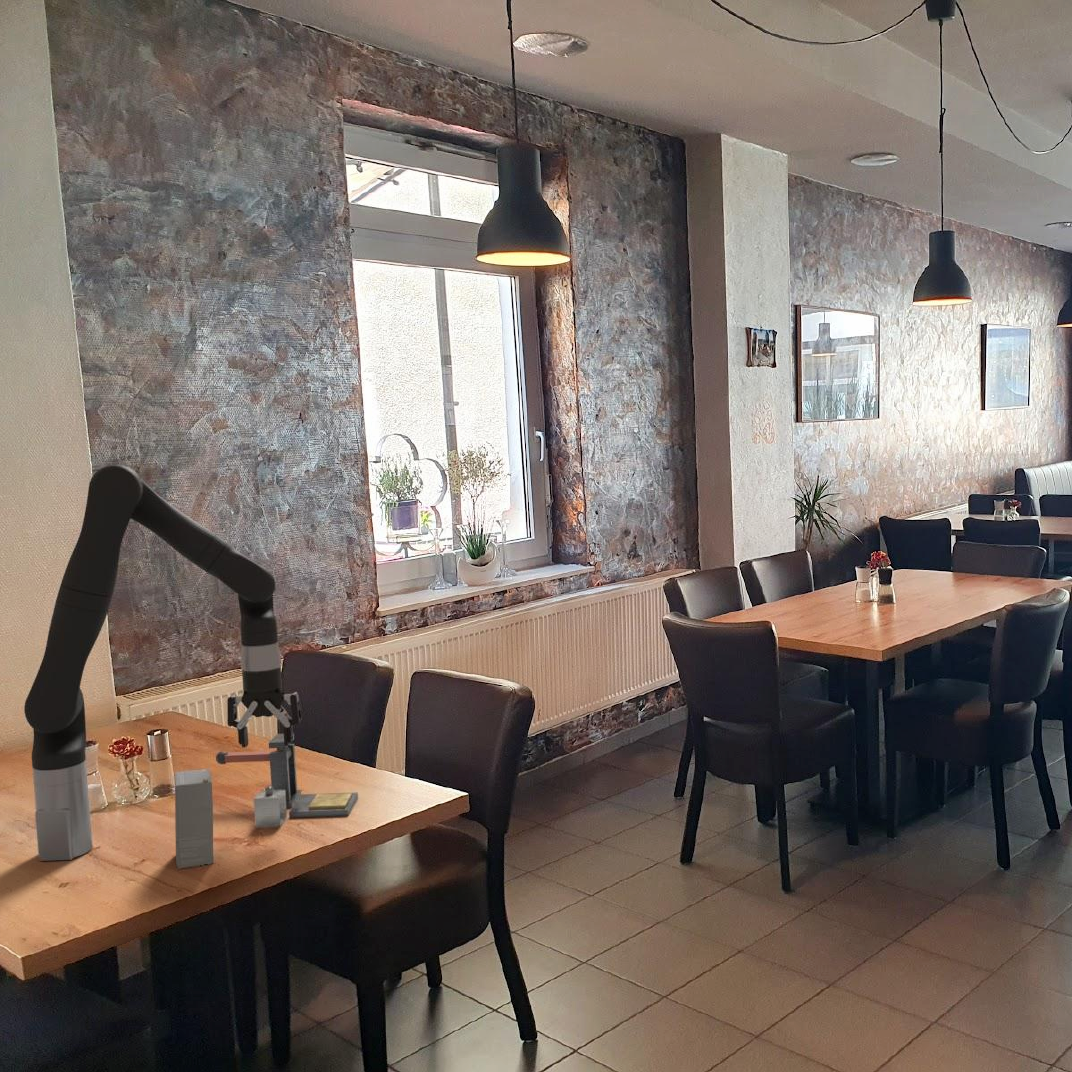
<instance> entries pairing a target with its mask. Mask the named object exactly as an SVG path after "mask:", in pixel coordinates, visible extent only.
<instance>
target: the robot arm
mask: <svg viewBox="0 0 1072 1072" xmlns="http://www.w3.org/2000/svg"><path fill="white" fill-rule="evenodd" d="M130 520H132V521H134V522H137V523H138V524H140V525H142V526H143V527H145V528H146V529H148V530H150V531H151V532H152V533H154V534H155V535H156V536H158V537H159V538H160V539H161V540H162V541H164V542H165V543H166V544H168V545H169V546H170V547H171V548H173V549H174V550H175V551H176V552H177V553H178V554H180V556H183V557H184V558H185V559H187V560H188V561H190V562H191V563H192V564H194V565H195V566H197V567H198V568H199V569H200V570H203V571H204V572H205V573H207V574H208V575H211V576H212V577H214V578H216V579H218V581H221V582H222V583H223V584H224V585H225V586H227V587H228V588H229V589H230V590H232V591H233V592H234V593H235V594H237V599H238V607H239V612H240V639H241V641H240V642H241V653H240V661H241V662H240V663H241V676H242V694H243V695H237V694H234V693H233V694H231V695H230V696H229V697H228V698H227V707H226V709H227V726H228V727H230V728H231V727H232V728H233V727H234V728H235V729H237V737H238V738H237V739H238V744H239V745H241V748H247V747H248V746H249V733H248V732H249V731H248V730H249V729H248V726H246V725H247V724H248V722H249V721H250V719H252V717H255V718H261V717H267V718H268V717H269V718H271V717H272V716H274V717H275V718H276V719H277V720H278V721H279V722H281V724H282V725H283V726H284V727H283V734H284V745H285V746H289V745H290V744H292V742H293V741H294V740H293V733H294V729H293V728H294V725H298V724H299V723H300V722H301V721H302V718H303V717H302V708H301V700H300V693H299V692H297V691H294V692H293V693H284V691H283V678H282V658H281V652H280V651H281V650H280V646H279V639H278V638H279V637H278V626H277V620H276V619H277V618H276V616H275V612H274V593H275V591H276V580H275V577H274V575H273V574H272V573H271V571H270V570H268V569H267V568H266V567H264V566H262V565H260V564H258V563H257V562H255V561H253V560H252V559H250V558H248V557H247V556H245V555H243V553H240V552H239V551H238V550H237V549H236V548H235V547H234V546H233V545H232V544H231V543H229V542H227V541H226V540H225V539H223V538H222V537H220V536H219V535H217V534H216V533H215V532H213V531H212V530H210V529H208V528H207V527H205V526H204V525H203V524H201V523H199V522H197V521H196V520H194V519H192V518H191V517H190V516H188V515H187V514H185V513H183V512H182V511H180V510H179V509H177V508H176V507H174V506H173V505H171V504H170V503H169V502H167V501H166V499H164V498H162V497H161V496H160V495H159V494H158V493H156V492H155V491H154V490H153V489H152V488H151V487H150V486H149V485H148V484H147V483H146V482H145V481H144V480H143V479H142V478H141V477H140V475H139V474H138V473H137V472H136V470H134V469H133V468H132V467H129V466H127V465H125V464H119V463H117V464H116V463H115V464H114V463H113V464H108V465H105V466H103V467H101V468H100V469H98V470H97V471H96V472H94V474H93V475H92V476H91V478H90V481H89V484H88V489H87V498H86V506H85V510H84V516H83V521H82V526H81V529H80V533H79V536H78V539H77V541H76V544H75V545H74V548H73V550H72V552H71V555H70V557H69V560H68V563H67V565H66V567H65V571H64V574H63V577H62V578H61V579H62V580H61V583H60V586H59V587H58V588H59V589H58V592H57V596H56V599H55V603H54V608H53V612H52V616H51V620H50V625H49V630H48V634H47V640H46V645H45V648H44V649H45V650H44V654H43V658H42V659H41V663H40V665H39V668H38V671H37V674H36V676H35V678H34V681H33V683H32V685H31V688H30V690H29V693H28V694H27V697H26V699H25V701H24V709H23V710H24V711H23V712H24V715H25V719H26V721H27V723H28V725H29V726H30V727H31V728H32V729H33V745H32V751H31V767H32V777H33V779H32V780H33V790H34V792H33V793H34V805H35V813H34V814H35V815H34V816H35V828H36V829H35V830H36V838H37V839H36V840H37V852H38V861H39V862H43V861H45V862H46V861H49V862H50V861H71V860H73V859H74V858H77V857H80V856H82V855H84V854H86V853H88V852H90V851H91V850H92V848H93V837H92V836H93V834H92V824H91V823H92V822H91V810H90V809H91V808H90V797H89V784H88V782H89V781H88V769H87V759H86V757H87V756H86V755H87V754H86V745H87V727H86V725H87V724H86V712H85V711H86V709H85V708H86V707H85V699H84V694H83V691H82V689H81V685H82V683H81V682H82V679H83V674H84V670H85V666H86V663H87V661H88V658H89V656H90V654H91V652H92V650H93V648H94V646H95V643H96V641H97V639H98V637H99V636H100V633H101V631H102V628H103V626H104V623H105V621H106V618H107V615H108V613H109V609H110V605H111V603H112V598H113V595H114V592H115V588H116V582H117V577H118V571H119V564H120V563H119V562H120V555H121V548H122V547H121V546H122V543H123V539H124V536H125V534H126V530H127V528H128V526H129V523H130ZM285 701H286V702H287V704H288V705H289V706H290V708H291V716H290V715H289V713H288V712H287V710H286V709H285V708H284V707H283V703H284V702H285ZM241 703H242V704H243V706H245V708H246V711H245V713H244V714H243V715H242V717H241V718H240V719H238V707H239V706H240V704H241Z"/></svg>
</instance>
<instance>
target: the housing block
mask: <svg viewBox="0 0 1072 1072" xmlns="http://www.w3.org/2000/svg"><path fill="white" fill-rule="evenodd" d="M253 806H254V807H253V809H254V810H253V812H254V822H255V823H254V824H255V829H260V828H263V829H264V828H265V829H266V828H281V827H282V826H283V825H284V823H285V822H286V820H287V819H288V815H287V813H288V812H287V808H286V795H285V790H273V786H271V785H267V786H265V787H264V790H260V791H259V792H258V793H257V794H256V795H255V796H254V798H253Z"/></svg>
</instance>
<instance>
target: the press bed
mask: <svg viewBox="0 0 1072 1072" xmlns="http://www.w3.org/2000/svg"><path fill="white" fill-rule="evenodd" d="M294 740H295V733H294V732H293V741H294ZM286 747H289V748H290V749H291V752H292V753H291V756H290V757H289V759H288V751H287V752H270V753H269V756H270V761H269V770H270V783H271V784H270V786H273V790H285V795H286V809H287V808H288V809H289V812H288V817H289V819H293V818H294V819H296V818H321V817H322V818H323V817H325V818H326V817H327V816H328V817H344V816H345V817H348V816H349V815H350V813H351V811H352V809H353V808H354V806H355V805H356V804H357V803H356V802H357V800H358V799H359V793H358V792H357V791H355V792H337V793H336V792H335V793H330V792H329V793H311V794H310V793H309V794H308V793H306V794H303V793H302V790H301V789H298V780H297V767H296V766H297V765H296V764H297V762H296V749H295V747H296V746H295V743H290V745H289V746H285V745H284V733H277V734H275V736H273V738H272V739H271V740H270V741H269V742H268V749H276V751H278V750H279V749H280V748H286ZM352 807H353V808H352Z"/></svg>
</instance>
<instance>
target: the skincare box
mask: <svg viewBox="0 0 1072 1072" xmlns="http://www.w3.org/2000/svg"><path fill="white" fill-rule="evenodd" d="M210 771H211V770H210V768H204V769H194V770H193V769H192V770H191V769H190V770H181V771H174V804H175V805H174V808H175V811H174V813H175V814H174V815H175V820H174V821H175V822H174V823H175V826H174V827H175V829H174V830H175V862H176V866H177V869H178V870H180V869H187V868H194V867H201V866H200V865H202V866H205V865H204V864H208V865H212V864H211V863H213V864H214V804H213V803H214V801H213V800H214V799H213V798H214V797H213V781H212V773H211V772H210Z"/></svg>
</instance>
